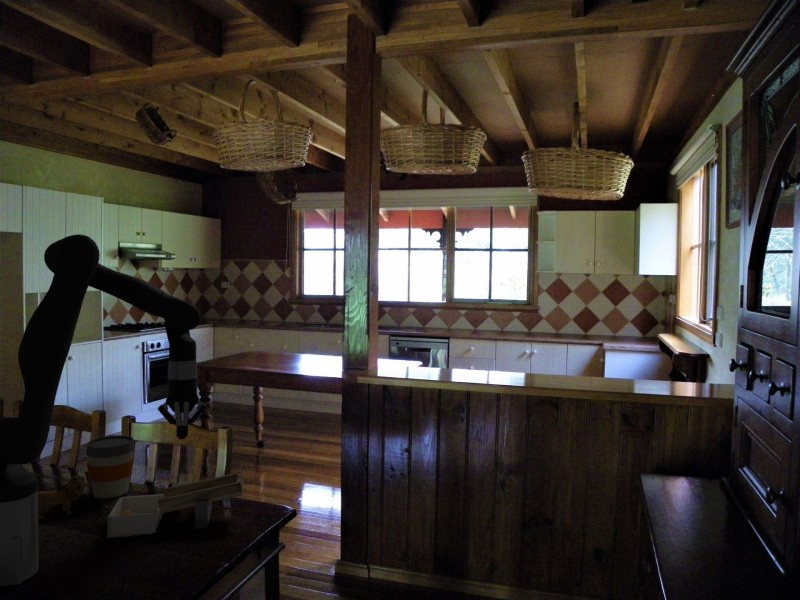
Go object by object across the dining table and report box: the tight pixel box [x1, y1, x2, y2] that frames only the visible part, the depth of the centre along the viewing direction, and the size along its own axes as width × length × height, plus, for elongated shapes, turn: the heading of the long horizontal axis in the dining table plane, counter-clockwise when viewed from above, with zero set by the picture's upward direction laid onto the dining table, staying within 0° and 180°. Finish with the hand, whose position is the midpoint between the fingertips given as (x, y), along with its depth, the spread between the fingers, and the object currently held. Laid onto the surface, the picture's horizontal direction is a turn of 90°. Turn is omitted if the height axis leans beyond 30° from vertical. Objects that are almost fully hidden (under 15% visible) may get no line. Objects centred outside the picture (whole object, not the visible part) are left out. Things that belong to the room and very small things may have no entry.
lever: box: [158, 471, 245, 514], centre depth 147 cm, size 18×20×4 cm
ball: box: [120, 510, 132, 515], centre depth 139 cm, size 3×3×3 cm
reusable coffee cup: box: [85, 435, 136, 499], centre depth 159 cm, size 13×13×15 cm
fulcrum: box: [194, 499, 213, 530], centre depth 143 cm, size 11×3×7 cm, turn 14°
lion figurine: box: [38, 475, 86, 520], centre depth 144 cm, size 15×5×9 cm, turn 132°
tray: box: [106, 493, 164, 539], centre depth 139 cm, size 13×11×5 cm
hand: (182, 438), depth 151 cm, fingers closed
